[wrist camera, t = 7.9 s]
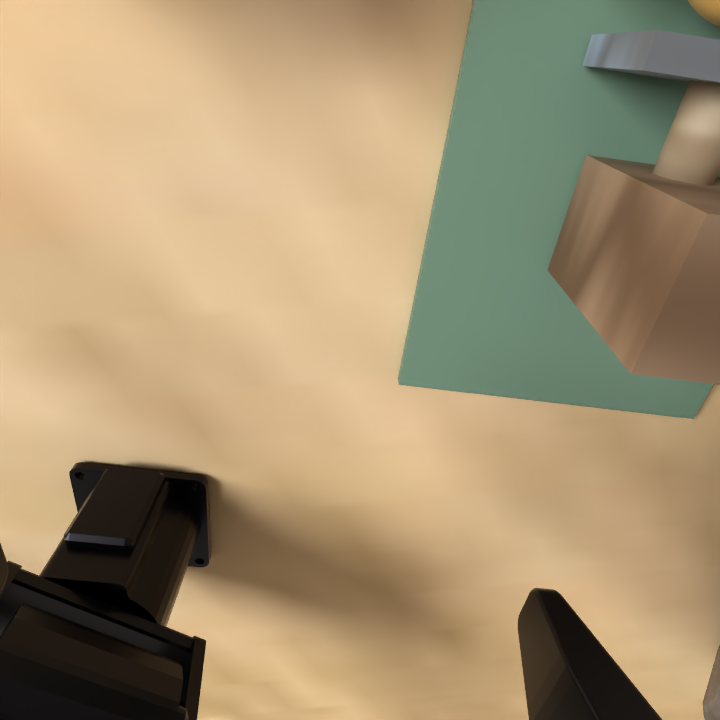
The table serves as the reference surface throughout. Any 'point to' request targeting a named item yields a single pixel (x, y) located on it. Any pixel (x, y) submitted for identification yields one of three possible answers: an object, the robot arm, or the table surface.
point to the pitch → (536, 205)
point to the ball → (707, 10)
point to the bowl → (713, 692)
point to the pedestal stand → (653, 221)
